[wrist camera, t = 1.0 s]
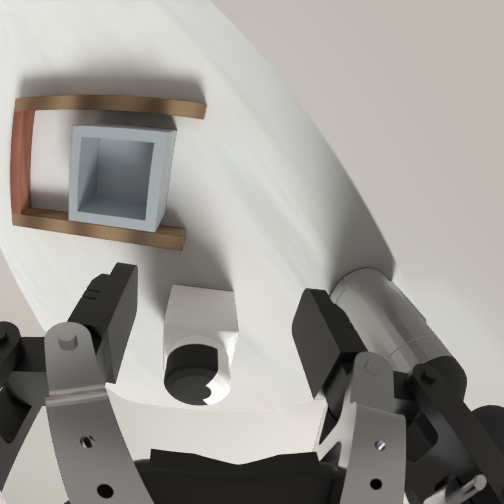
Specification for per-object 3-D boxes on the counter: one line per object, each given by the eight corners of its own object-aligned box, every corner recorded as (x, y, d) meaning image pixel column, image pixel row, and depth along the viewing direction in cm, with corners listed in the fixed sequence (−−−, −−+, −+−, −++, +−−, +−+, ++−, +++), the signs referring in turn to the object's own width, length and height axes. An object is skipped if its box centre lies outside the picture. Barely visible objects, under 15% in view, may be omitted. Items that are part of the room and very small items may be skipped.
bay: (207, 105, 27) (206, 104, 24) (184, 241, 33) (182, 250, 30) (27, 98, 23) (15, 98, 20) (22, 217, 29) (12, 225, 26)
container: (169, 330, 38) (158, 408, 26) (172, 282, 35) (156, 360, 23) (225, 337, 39) (231, 415, 28) (234, 290, 36) (244, 369, 25)
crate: (177, 130, 28) (167, 132, 22) (165, 212, 31) (155, 232, 26) (97, 123, 26) (73, 125, 21) (91, 202, 30) (68, 220, 24)
